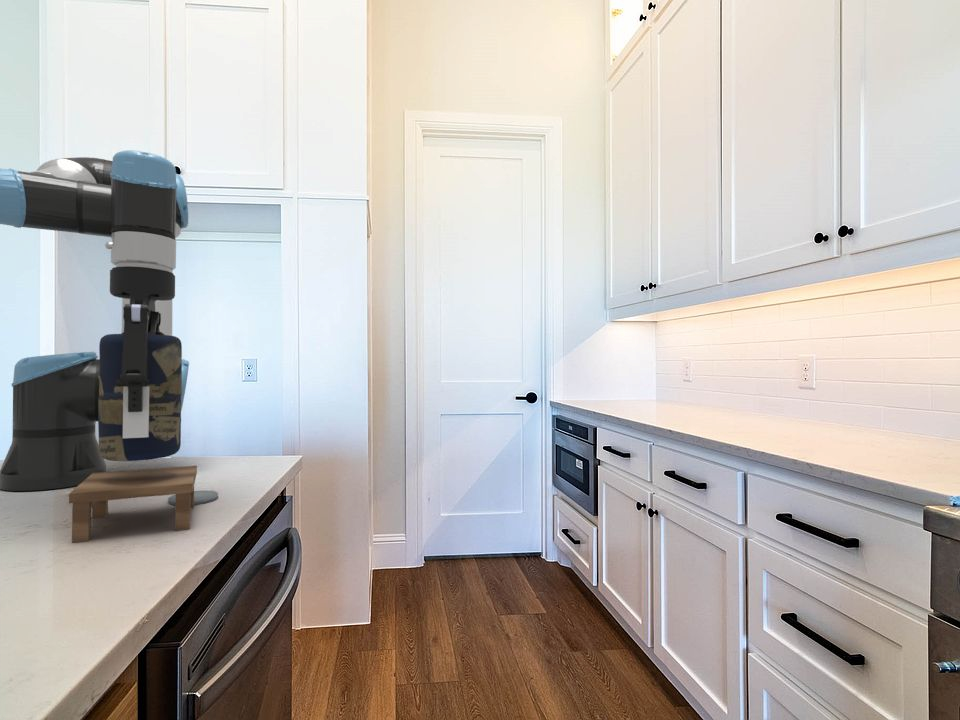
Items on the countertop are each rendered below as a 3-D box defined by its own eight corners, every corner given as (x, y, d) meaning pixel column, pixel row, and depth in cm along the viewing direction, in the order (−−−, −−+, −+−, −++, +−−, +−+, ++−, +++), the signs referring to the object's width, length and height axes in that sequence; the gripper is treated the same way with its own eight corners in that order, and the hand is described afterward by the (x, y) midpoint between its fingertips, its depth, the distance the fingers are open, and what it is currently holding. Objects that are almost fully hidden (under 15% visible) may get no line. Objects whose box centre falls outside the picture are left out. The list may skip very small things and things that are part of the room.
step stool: (92, 515, 74) (92, 472, 74) (196, 504, 80) (196, 465, 80) (68, 543, 62) (68, 493, 62) (191, 529, 68) (192, 483, 68)
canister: (140, 467, 65) (142, 324, 65) (78, 463, 67) (80, 324, 67) (196, 454, 75) (198, 329, 75) (140, 451, 77) (142, 329, 77)
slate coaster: (170, 496, 84) (170, 493, 84) (218, 492, 87) (218, 488, 87) (165, 507, 78) (165, 503, 78) (218, 502, 81) (218, 498, 81)
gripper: (124, 278, 79) (122, 425, 79) (91, 251, 60) (89, 446, 59) (180, 282, 83) (178, 422, 83) (167, 257, 63) (165, 442, 63)
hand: (141, 432), depth 71 cm, fingers closed on canister, 9 cm apart
